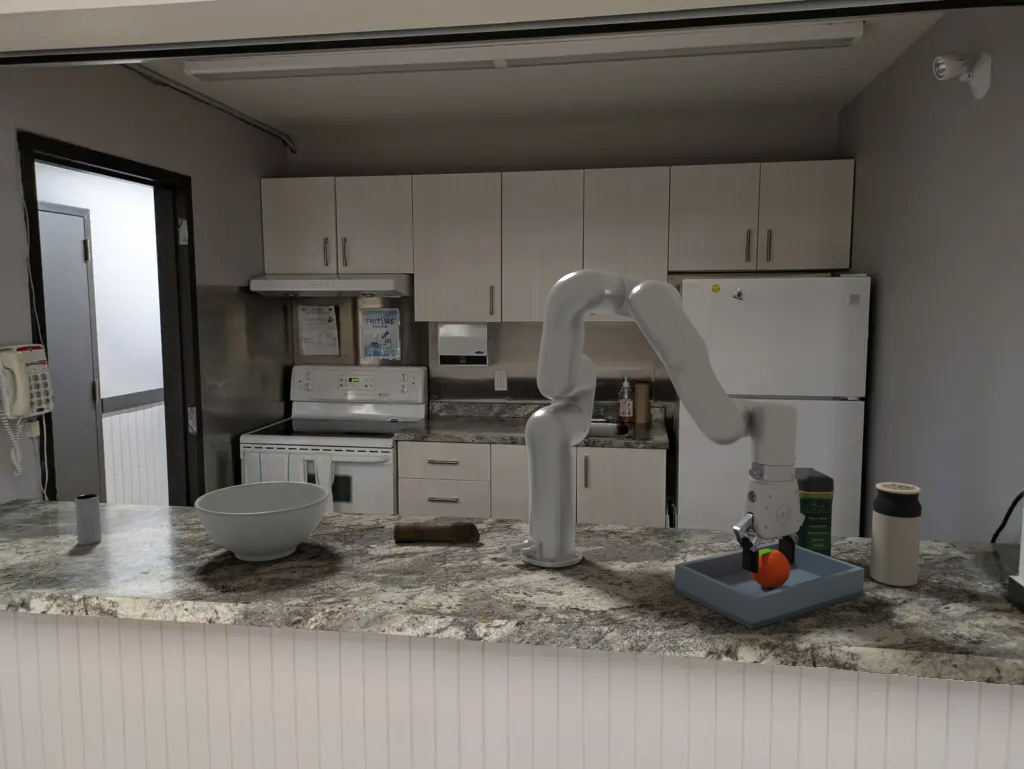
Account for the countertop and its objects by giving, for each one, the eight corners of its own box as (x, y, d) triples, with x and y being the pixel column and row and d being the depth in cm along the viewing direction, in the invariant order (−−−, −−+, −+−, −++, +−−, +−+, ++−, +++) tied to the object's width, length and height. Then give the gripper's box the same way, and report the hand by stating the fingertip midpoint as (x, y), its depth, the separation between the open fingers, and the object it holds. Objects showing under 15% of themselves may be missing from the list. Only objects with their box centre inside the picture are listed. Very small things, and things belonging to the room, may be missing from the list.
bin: (752, 629, 113) (753, 599, 112) (674, 591, 128) (675, 564, 128) (862, 595, 126) (864, 568, 126) (780, 564, 142) (781, 540, 141)
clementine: (765, 597, 122) (769, 557, 122) (735, 583, 128) (738, 544, 128) (796, 591, 126) (800, 552, 125) (766, 577, 132) (769, 540, 131)
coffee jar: (836, 566, 141) (841, 475, 139) (797, 566, 141) (800, 475, 139) (816, 550, 150) (820, 464, 149) (779, 550, 151) (782, 464, 149)
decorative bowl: (326, 527, 167) (325, 477, 166) (335, 565, 142) (333, 506, 140) (203, 539, 158) (201, 486, 157) (189, 581, 133) (186, 519, 132)
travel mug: (922, 589, 129) (927, 493, 127) (874, 585, 131) (878, 490, 129) (911, 574, 136) (916, 483, 135) (866, 570, 139) (870, 480, 137)
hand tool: (392, 544, 155) (391, 524, 155) (396, 539, 159) (396, 519, 159) (477, 547, 154) (477, 526, 153) (480, 541, 157) (479, 521, 157)
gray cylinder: (105, 540, 157) (102, 495, 156) (84, 546, 154) (81, 500, 152) (94, 537, 160) (92, 492, 159) (73, 542, 156) (70, 497, 155)
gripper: (754, 481, 118) (750, 582, 119) (822, 470, 126) (818, 564, 128) (720, 473, 124) (717, 568, 126) (788, 463, 133) (784, 552, 134)
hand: (768, 566), depth 127 cm, fingers open, 8 cm apart
